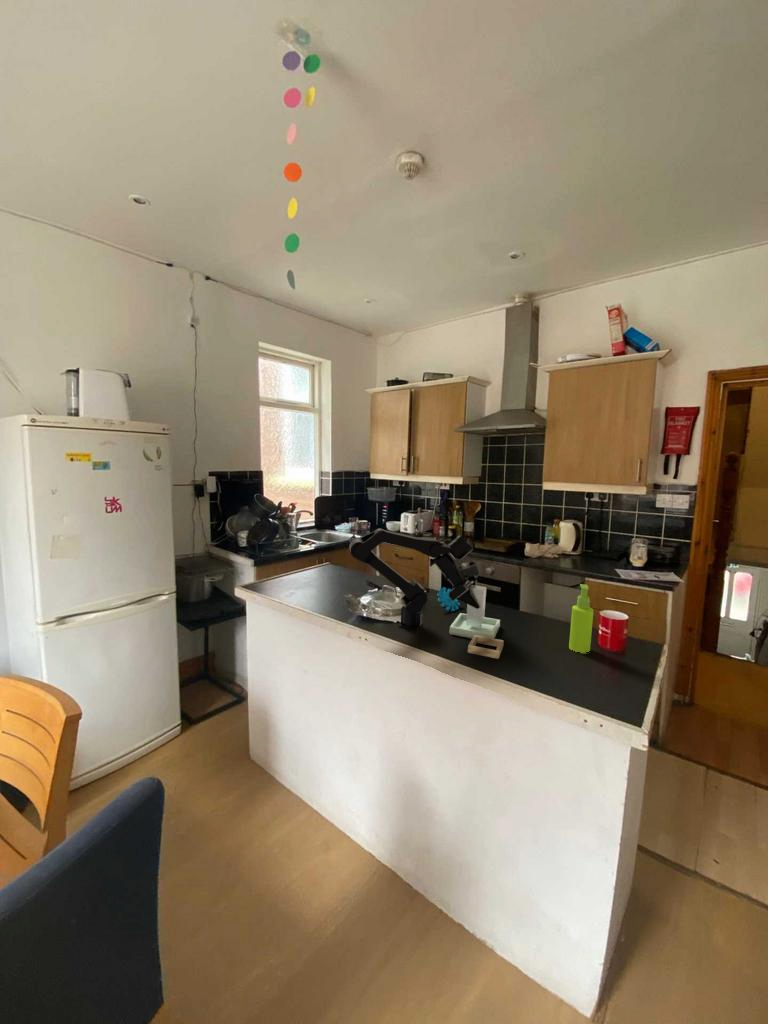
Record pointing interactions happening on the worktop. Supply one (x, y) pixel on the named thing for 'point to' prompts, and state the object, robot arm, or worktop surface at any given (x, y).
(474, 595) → the stop block
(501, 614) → the worktop surface
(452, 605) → the gear
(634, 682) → the worktop surface
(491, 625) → the tray
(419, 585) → the robot arm
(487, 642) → the wooden collar
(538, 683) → the worktop surface
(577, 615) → the soap dispenser
